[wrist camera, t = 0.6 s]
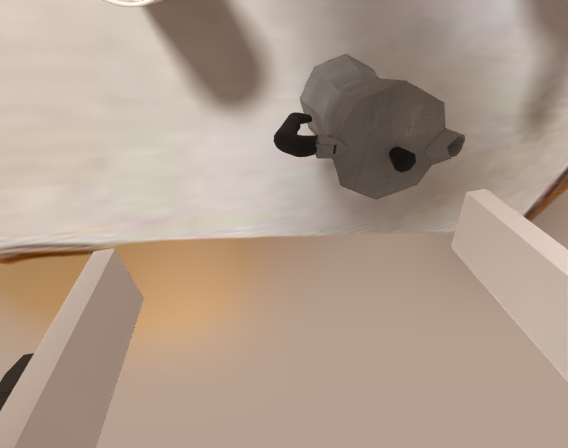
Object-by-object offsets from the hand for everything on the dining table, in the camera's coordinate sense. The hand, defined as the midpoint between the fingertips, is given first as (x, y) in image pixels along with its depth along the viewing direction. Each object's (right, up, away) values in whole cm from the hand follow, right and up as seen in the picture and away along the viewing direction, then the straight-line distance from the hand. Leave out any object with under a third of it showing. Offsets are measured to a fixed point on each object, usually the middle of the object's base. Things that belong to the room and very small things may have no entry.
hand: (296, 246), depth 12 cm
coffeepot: (+5, +16, +24) cm, 29 cm away
